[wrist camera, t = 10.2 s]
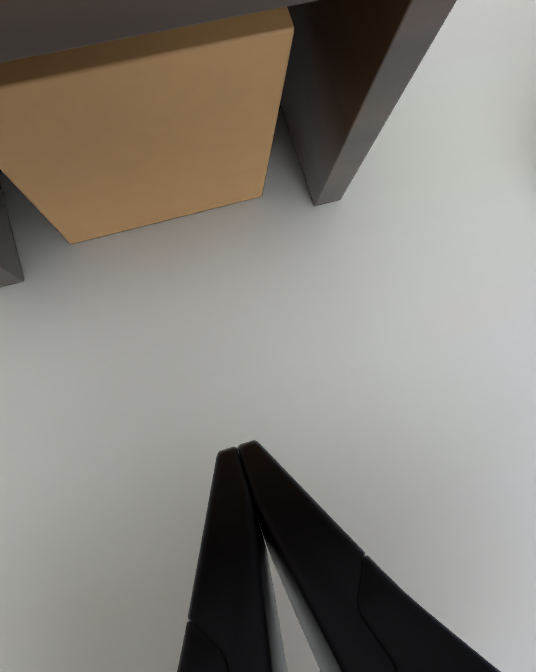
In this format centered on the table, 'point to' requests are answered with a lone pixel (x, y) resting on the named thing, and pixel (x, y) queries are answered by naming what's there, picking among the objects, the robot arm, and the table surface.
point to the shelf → (301, 75)
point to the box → (145, 123)
